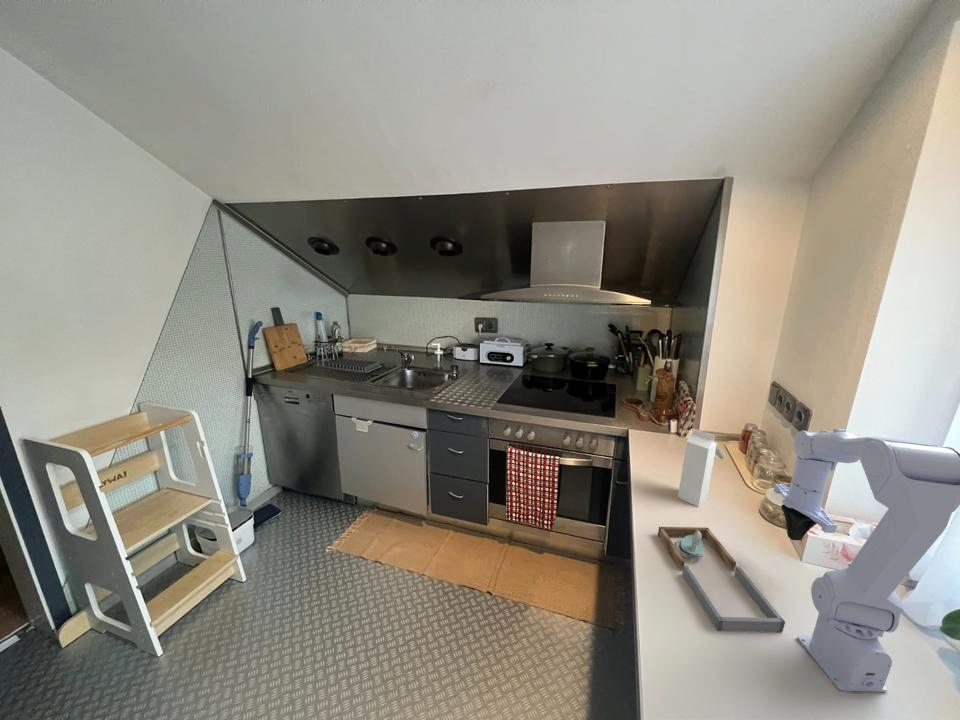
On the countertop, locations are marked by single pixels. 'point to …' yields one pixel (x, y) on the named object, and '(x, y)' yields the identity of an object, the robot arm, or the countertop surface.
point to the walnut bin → (685, 531)
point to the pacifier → (690, 545)
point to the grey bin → (738, 623)
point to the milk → (697, 467)
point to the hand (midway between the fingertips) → (794, 538)
